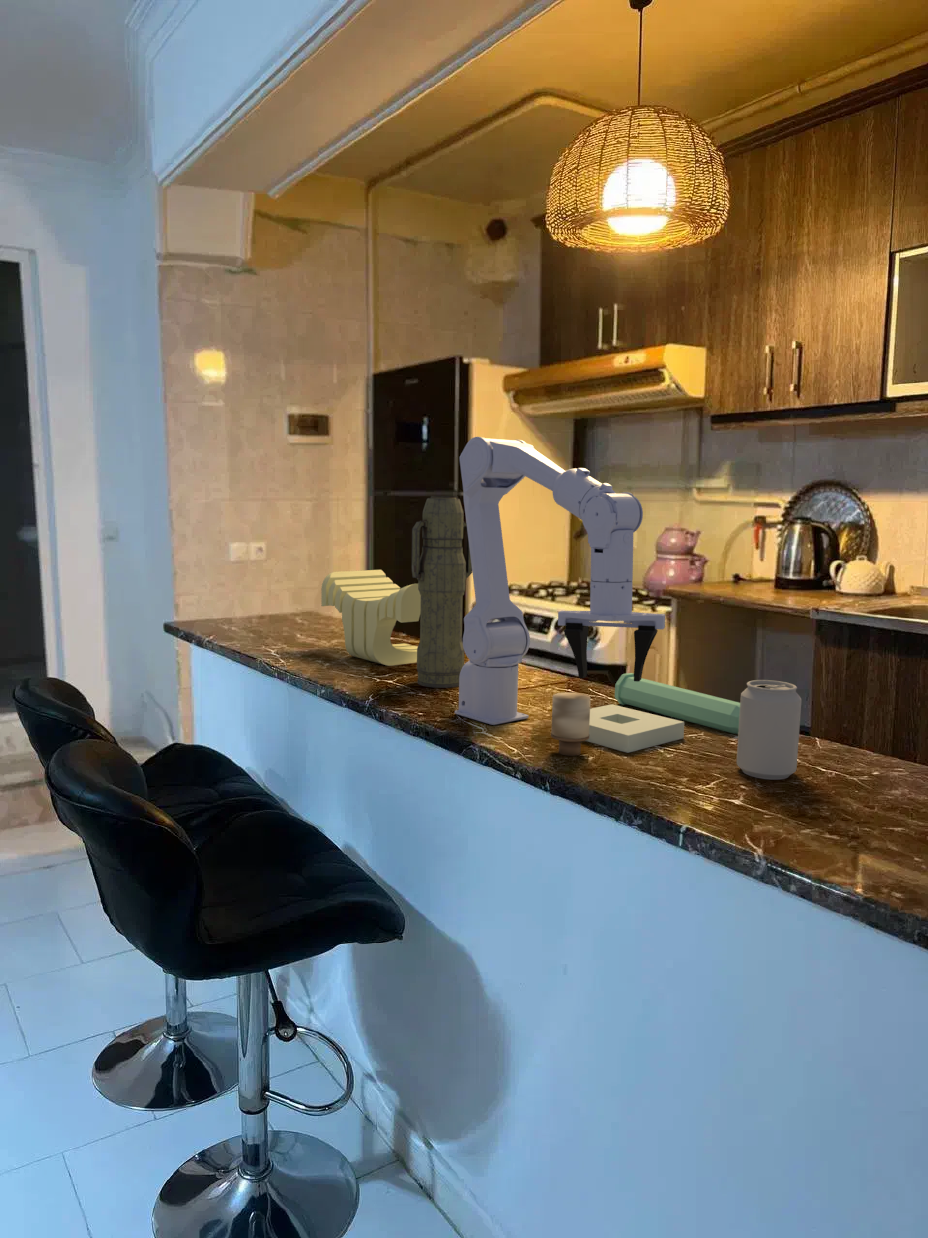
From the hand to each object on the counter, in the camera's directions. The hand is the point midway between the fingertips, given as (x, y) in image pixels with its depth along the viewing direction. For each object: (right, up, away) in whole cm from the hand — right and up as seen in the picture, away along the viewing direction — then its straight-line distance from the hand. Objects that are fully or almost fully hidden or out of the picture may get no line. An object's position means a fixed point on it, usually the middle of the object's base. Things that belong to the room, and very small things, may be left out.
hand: (609, 678), depth 127 cm
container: (+15, -8, +22) cm, 28 cm away
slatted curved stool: (-36, -1, +70) cm, 78 cm away
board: (+3, -9, +11) cm, 14 cm away
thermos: (-25, -4, +46) cm, 52 cm away
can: (+19, -12, -7) cm, 24 cm away
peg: (-6, -10, +1) cm, 12 cm away
